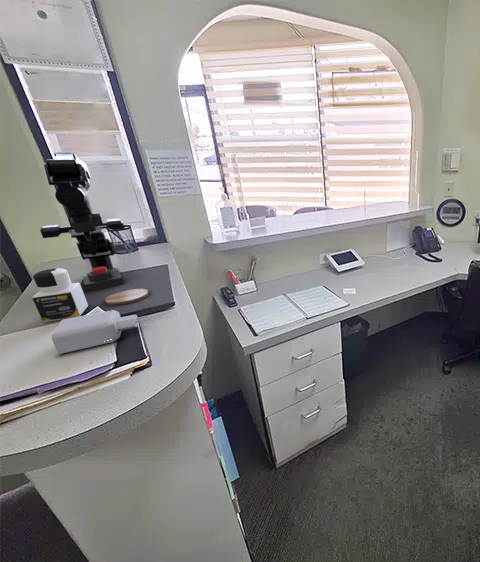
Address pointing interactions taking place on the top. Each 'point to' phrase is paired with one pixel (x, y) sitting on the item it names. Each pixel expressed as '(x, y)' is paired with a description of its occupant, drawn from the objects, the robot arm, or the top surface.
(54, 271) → the medicine bottle
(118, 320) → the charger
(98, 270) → the call button
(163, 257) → the top surface
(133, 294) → the coaster
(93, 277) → the button block
